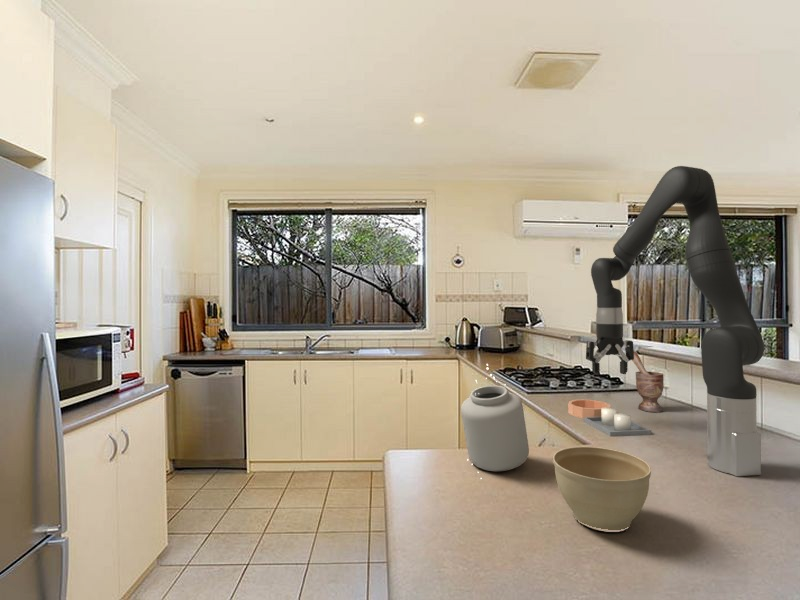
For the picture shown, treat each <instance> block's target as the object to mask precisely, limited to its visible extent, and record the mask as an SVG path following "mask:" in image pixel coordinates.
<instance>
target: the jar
mask: <svg viewBox="0 0 800 600" xmlns="http://www.w3.org/2000/svg"><path fill="white" fill-rule="evenodd" d="M486 366H488V367H486V370H487V371H488V370H490V369H489V364H488V363H486ZM489 376H490V377H492V376H493V374H492V373H490V374H489ZM492 378H493V380H494V381H495V380H496V378H495V376H493V377H492ZM485 379H486V380H487V379H488V378H487V377H485ZM477 381H478V380H477V379H475V382H476V384H478V382H477ZM495 382H496V383H498V381H497V380H496V381H495ZM505 386H506V383H504V386H503V385H495V384H491V385H484V386H480V387H476V388H475V389H473V390H471V392H470V395H469V397H467V398H466V399H465V400H463V402H462V404H461V407H460V412H461V419H462V425H463V426H462V427H463V431H464V437H465V444H466V450H467V455H468V457H469V459H468V458H467V461H469V460H470V461H471V466H473V465H474V466H476V467H477V468H479V469H481V470H485V471H488V472H489V471H490V472H505V471H510V470H513V469H515V468H518V467H519V466H521V465H523V464H524V463H526V460H527V459H528V457H529V454H530V448H529V447H530V446H529V440H528V433H527V427H526V421H525V413H524V406H523V402H522V400H521V398H520V397H519V396H518V395H517V394H514V393H512V392H510V391H509V390H508V387H505ZM477 473H478V474H479V473H480V472H479V471H477ZM480 480H483V478H482V477H480Z"/></svg>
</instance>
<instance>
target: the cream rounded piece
mask: <svg viewBox="0 0 800 600" xmlns="http://www.w3.org/2000/svg"><path fill="white" fill-rule="evenodd" d="M631 421H632V416H631V415H630V414H628V413H622V412H621V413H620V412H619V413H618V412H617V414H614V430H615V431H628V430H631Z"/></svg>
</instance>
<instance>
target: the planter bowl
mask: <svg viewBox="0 0 800 600" xmlns="http://www.w3.org/2000/svg"><path fill="white" fill-rule="evenodd" d="M552 462H553V465H554V472H555V473H554V474H555V480H556V483H557V487H558V490H559V491H560V493H561V497H563V500H564V501H565V503H566V504H567V506H568V508H570V510H571V511H572V515H574V516H573V517H575V518H576V519H577V520H579V521H580V522H582V523H584V524H587V525H589V526H592V527H596V528H601V529H608V530H621V529H625V528H627V527H629V526H630V524H631V525H632V521H633V520H634V519H635V518H637V516H638V514H639V513H640V512H641V510H642V509H643V507H644V505H645V503H646V500H647V497H648V493H649V489H650V488H649V487H650V478H651V474H652V470H651V467H650V465H649V464H648V463H647V462H646V461H645V460H643V459H642V458H640V457H638V456H636V455H633V454H631V453H628V452H626V451H625V452H624V451H620V450H615V449H612V448H606V447H605V448H604V447H597V446H571V447H565V448H561V449H560V450H558V451H556V452H555V453H554V454H553V457H552ZM575 518H574V519H575ZM630 527H631V526H630Z"/></svg>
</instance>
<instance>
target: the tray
mask: <svg viewBox="0 0 800 600" xmlns="http://www.w3.org/2000/svg"><path fill="white" fill-rule="evenodd" d="M583 422H584V423H586V424H588V425H589V426H590V427H591V426H592V427H593V428H595V429H596V430H597V431H600V432H602V433H604V434H605V435H606V436H609V437H622V436H623V437H624V436H627V437H629V436H646V435H647V436H649V435H650V436H651V435H652V429H650V428H648V427H645V426H643V425H641V424H639V423H637V422H634V421H633V420H631V430H628V431H615V430H614V426H606V425H603V424H602V423H601V417H584V418H583Z"/></svg>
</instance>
